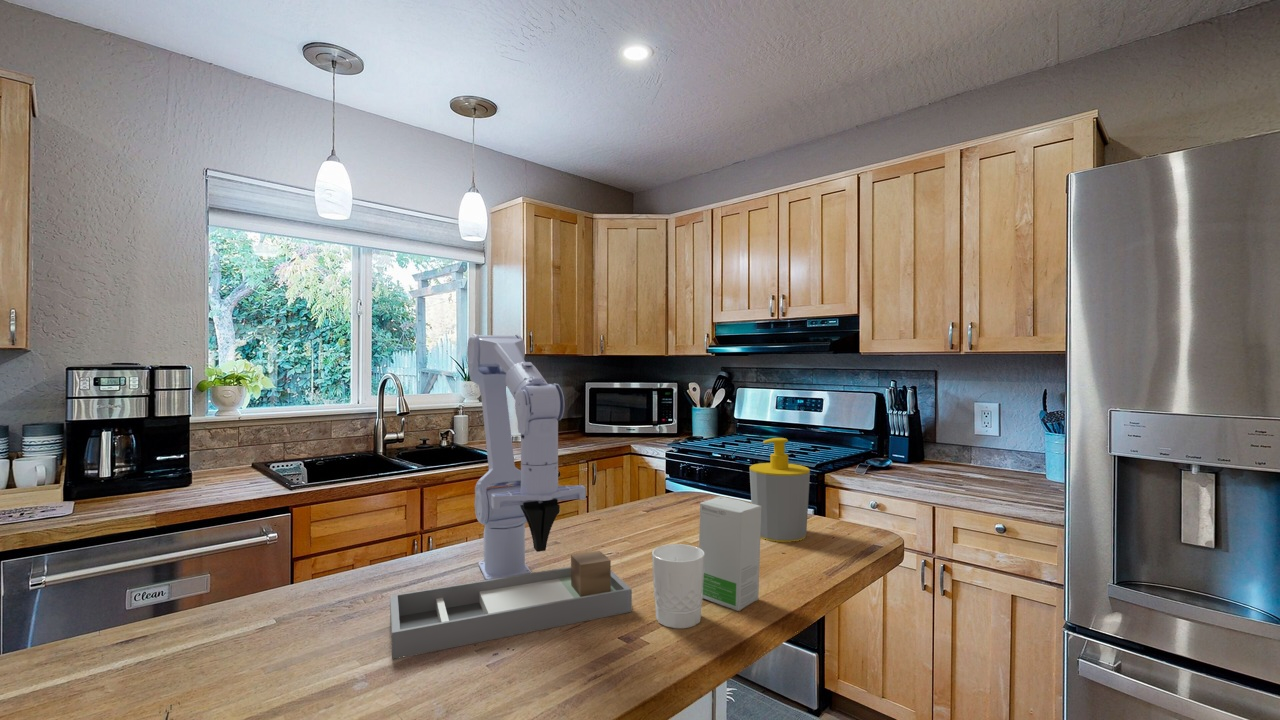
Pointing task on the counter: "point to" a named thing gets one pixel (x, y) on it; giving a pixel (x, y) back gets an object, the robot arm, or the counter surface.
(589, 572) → the walnut block
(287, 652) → the counter surface
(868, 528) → the counter surface
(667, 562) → the white cup
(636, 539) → the counter surface
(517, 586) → the box
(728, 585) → the skincare box
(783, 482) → the soap bottle
